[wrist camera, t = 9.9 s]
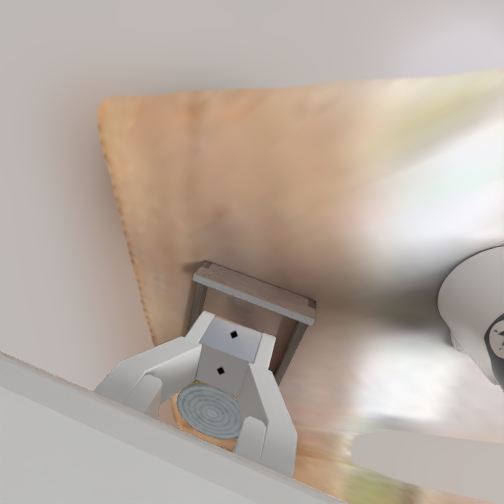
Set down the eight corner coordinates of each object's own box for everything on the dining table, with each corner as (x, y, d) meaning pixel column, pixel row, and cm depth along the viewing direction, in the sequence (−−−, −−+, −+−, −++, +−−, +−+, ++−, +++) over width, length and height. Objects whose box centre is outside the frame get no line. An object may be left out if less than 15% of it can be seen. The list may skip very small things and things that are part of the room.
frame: (316, 301, 41) (315, 319, 37) (270, 396, 52) (266, 418, 48) (206, 260, 43) (193, 273, 39) (184, 360, 54) (173, 378, 50)
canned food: (269, 339, 47) (253, 400, 36) (261, 383, 52) (244, 448, 41) (208, 322, 49) (176, 376, 38) (206, 366, 53) (177, 425, 43)
